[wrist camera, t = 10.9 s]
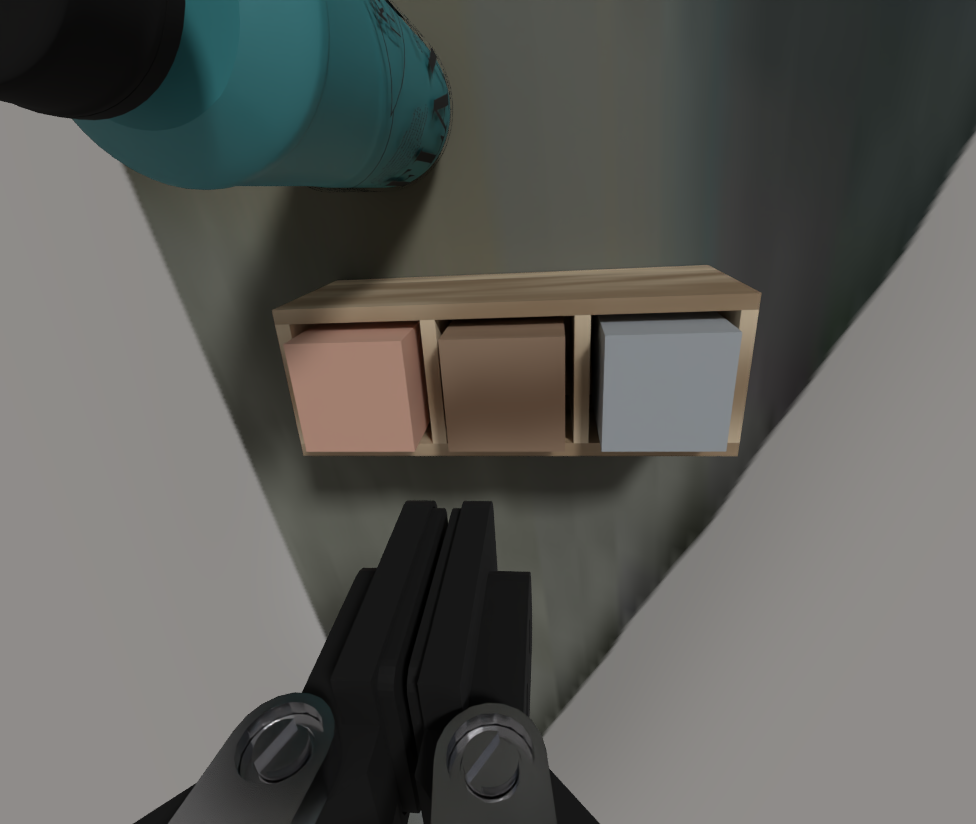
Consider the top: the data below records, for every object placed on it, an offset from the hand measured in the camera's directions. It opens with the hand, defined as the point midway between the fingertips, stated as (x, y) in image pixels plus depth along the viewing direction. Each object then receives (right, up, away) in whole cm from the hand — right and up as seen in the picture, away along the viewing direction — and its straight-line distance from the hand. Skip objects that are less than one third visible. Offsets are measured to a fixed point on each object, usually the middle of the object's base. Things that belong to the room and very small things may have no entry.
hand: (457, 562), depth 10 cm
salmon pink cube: (-4, +5, +15) cm, 16 cm away
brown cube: (+2, +5, +14) cm, 15 cm away
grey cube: (+8, +6, +13) cm, 16 cm away
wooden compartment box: (+2, +7, +17) cm, 19 cm away
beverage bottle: (-4, +17, +14) cm, 22 cm away
